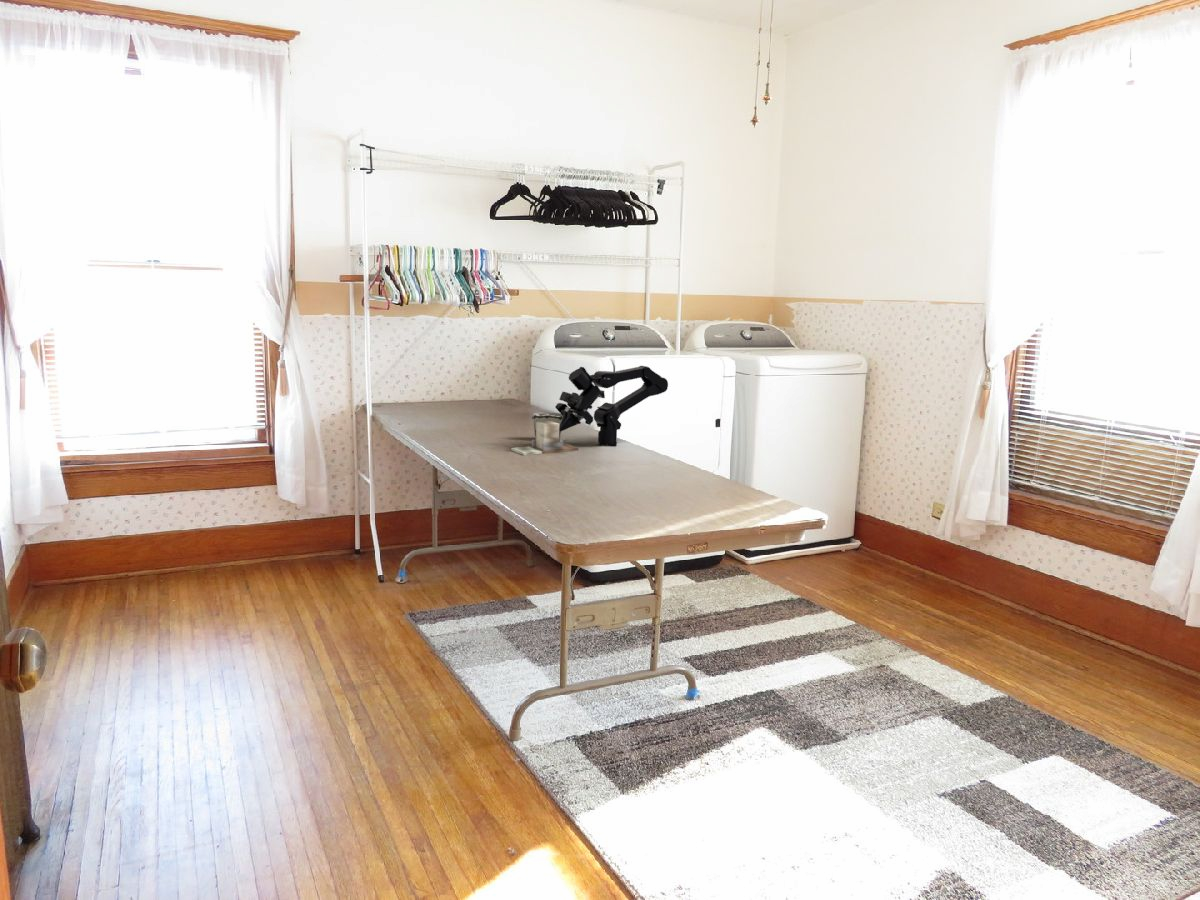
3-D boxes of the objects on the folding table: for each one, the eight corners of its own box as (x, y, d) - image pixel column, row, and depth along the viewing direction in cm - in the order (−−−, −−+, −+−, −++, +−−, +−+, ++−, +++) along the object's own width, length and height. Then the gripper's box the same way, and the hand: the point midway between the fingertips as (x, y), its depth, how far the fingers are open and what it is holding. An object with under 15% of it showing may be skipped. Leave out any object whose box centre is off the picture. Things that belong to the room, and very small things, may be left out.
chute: (564, 445, 320) (564, 436, 320) (578, 450, 312) (578, 441, 311) (511, 450, 309) (511, 441, 308) (524, 455, 300) (524, 445, 300)
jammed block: (550, 445, 315) (551, 421, 313) (558, 448, 310) (559, 423, 308) (536, 446, 312) (536, 422, 310) (544, 449, 307) (544, 424, 305)
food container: (565, 438, 335) (566, 412, 333) (563, 441, 329) (564, 415, 327) (534, 436, 336) (534, 411, 334) (531, 439, 330) (531, 413, 328)
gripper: (560, 381, 320) (533, 412, 316) (587, 386, 304) (559, 419, 300) (578, 401, 325) (551, 432, 321) (605, 408, 310) (577, 440, 306)
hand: (559, 430), depth 312 cm, fingers closed
